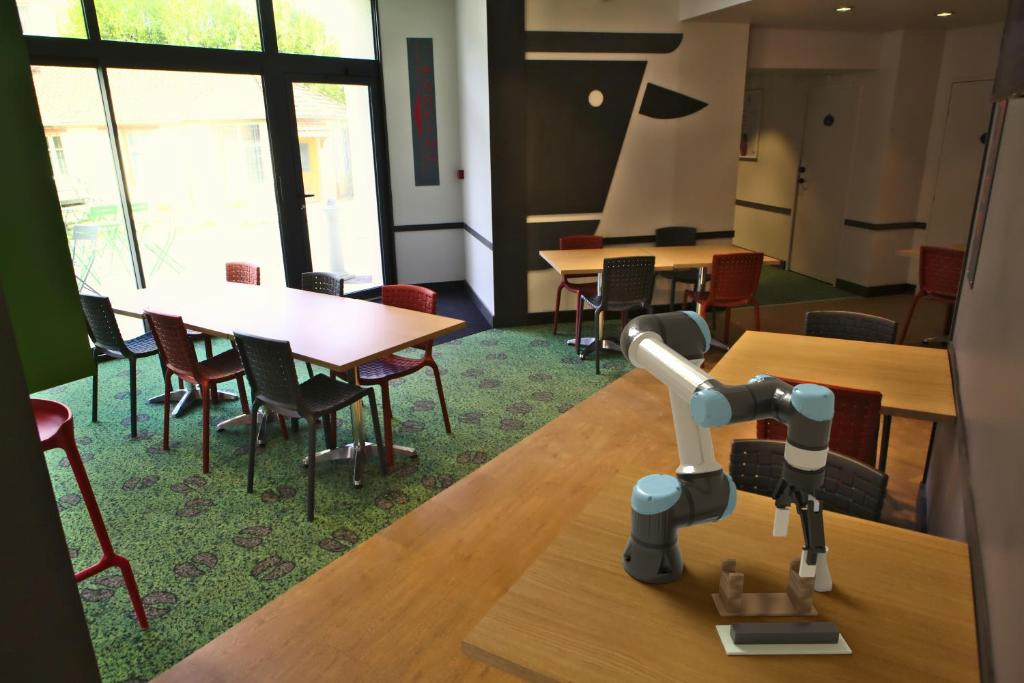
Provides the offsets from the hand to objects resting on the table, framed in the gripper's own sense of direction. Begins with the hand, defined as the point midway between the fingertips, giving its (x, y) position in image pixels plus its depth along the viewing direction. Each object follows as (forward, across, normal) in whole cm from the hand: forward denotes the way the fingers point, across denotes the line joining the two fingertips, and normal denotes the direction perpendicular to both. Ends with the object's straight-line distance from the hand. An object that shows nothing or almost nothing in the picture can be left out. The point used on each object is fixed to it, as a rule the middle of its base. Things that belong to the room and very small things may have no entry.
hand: (792, 554), depth 133 cm
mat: (+21, 0, 0) cm, 21 cm away
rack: (+21, +11, 0) cm, 24 cm away
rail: (+21, 0, 0) cm, 21 cm away
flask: (+22, +19, -16) cm, 33 cm away
